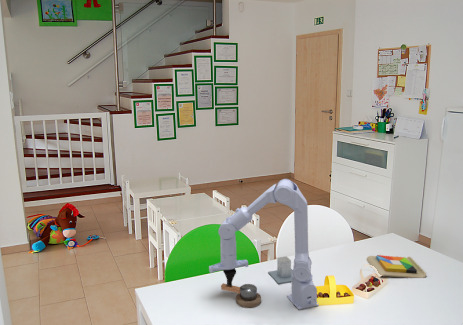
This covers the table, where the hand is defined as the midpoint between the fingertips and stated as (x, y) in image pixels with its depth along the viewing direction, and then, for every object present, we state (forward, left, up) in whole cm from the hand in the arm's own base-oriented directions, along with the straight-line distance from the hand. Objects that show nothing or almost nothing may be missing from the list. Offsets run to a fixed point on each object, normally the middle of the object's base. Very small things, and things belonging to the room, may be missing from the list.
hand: (229, 286), depth 154 cm
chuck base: (-7, -5, -3) cm, 9 cm away
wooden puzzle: (-4, -71, -3) cm, 71 cm away
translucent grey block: (+5, -24, -2) cm, 25 cm away
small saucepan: (-5, -2, -1) cm, 5 cm away
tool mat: (+5, -25, -3) cm, 25 cm away
